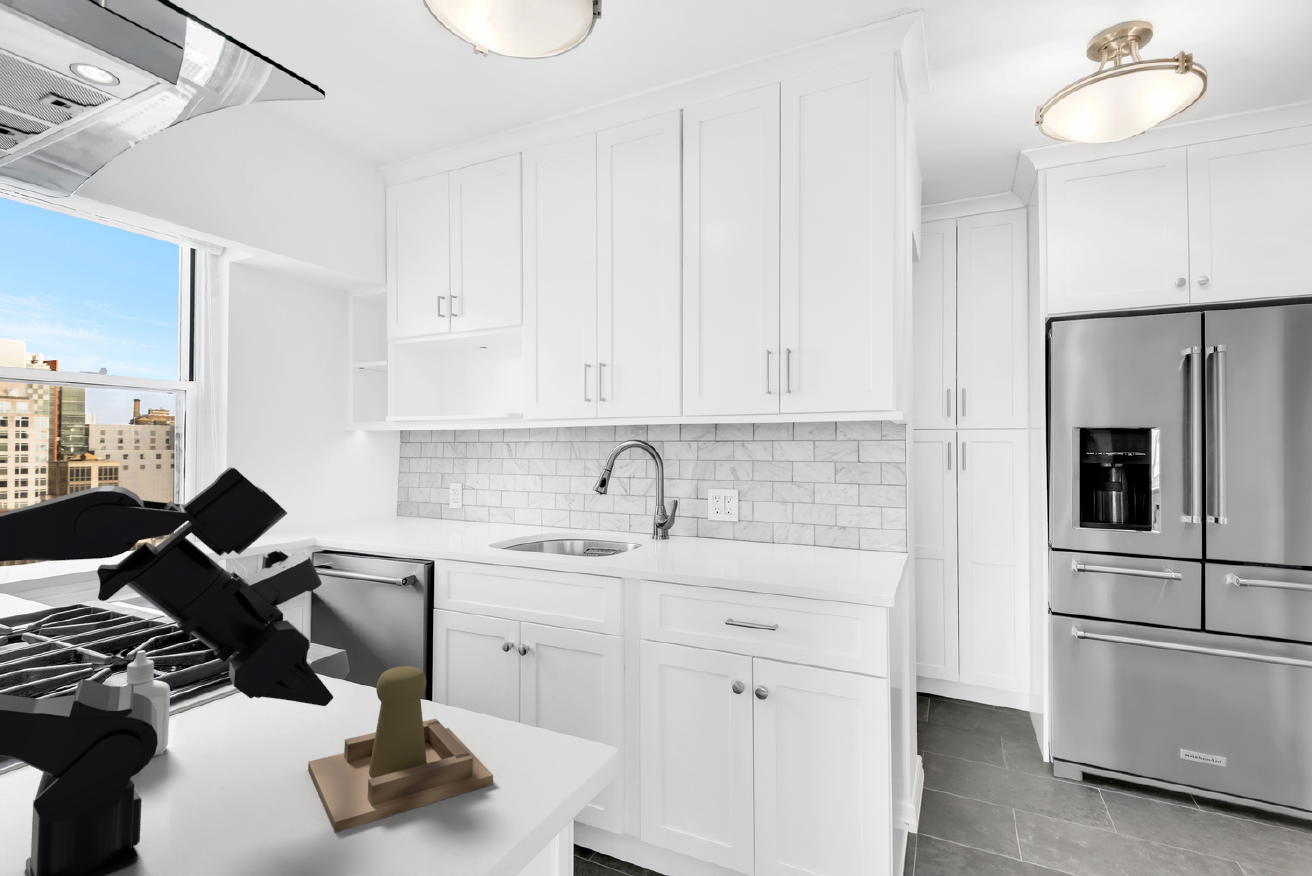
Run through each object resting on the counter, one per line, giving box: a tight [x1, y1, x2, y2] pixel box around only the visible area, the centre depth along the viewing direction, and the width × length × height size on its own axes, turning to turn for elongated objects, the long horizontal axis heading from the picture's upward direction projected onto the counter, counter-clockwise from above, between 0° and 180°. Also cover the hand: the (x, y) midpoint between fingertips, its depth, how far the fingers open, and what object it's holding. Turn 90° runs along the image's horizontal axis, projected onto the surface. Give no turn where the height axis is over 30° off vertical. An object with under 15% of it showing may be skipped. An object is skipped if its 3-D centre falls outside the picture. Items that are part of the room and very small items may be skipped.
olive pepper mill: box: [369, 665, 427, 778], centre depth 73 cm, size 6×6×11 cm
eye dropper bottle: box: [120, 650, 171, 757], centre depth 75 cm, size 4×6×12 cm
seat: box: [307, 718, 494, 833], centre depth 73 cm, size 16×14×3 cm
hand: (318, 687), depth 68 cm, fingers open, 9 cm apart
